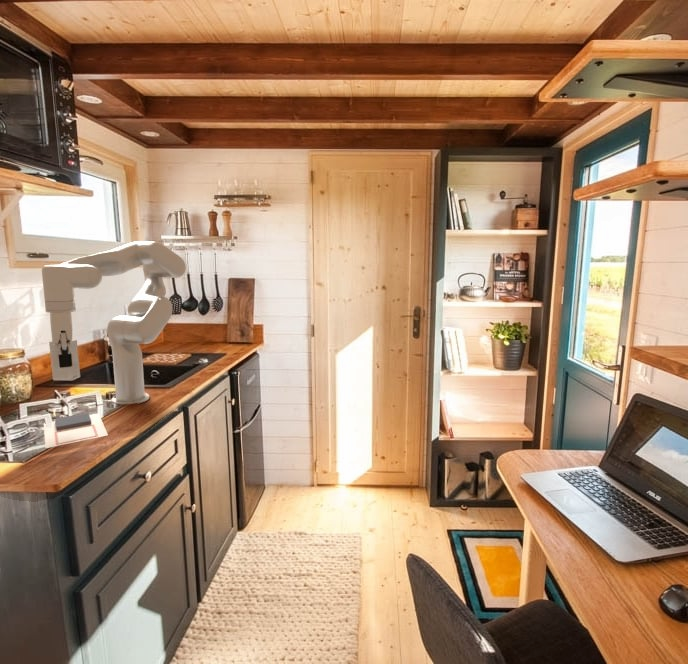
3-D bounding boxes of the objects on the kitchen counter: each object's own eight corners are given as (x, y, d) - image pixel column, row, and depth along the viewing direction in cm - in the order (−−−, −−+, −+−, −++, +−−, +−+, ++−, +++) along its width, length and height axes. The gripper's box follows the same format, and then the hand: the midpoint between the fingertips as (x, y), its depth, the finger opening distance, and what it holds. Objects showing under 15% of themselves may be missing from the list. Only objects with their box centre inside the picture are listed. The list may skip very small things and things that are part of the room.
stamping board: (43, 425, 129) (43, 422, 129) (98, 415, 138) (98, 413, 138) (45, 450, 113) (45, 447, 113) (108, 437, 122) (108, 434, 122)
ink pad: (55, 422, 130) (54, 418, 130) (88, 416, 136) (88, 412, 135) (56, 430, 124) (56, 426, 124) (91, 424, 129) (91, 420, 129)
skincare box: (80, 377, 130) (77, 339, 128) (72, 380, 126) (68, 342, 124) (61, 376, 130) (58, 339, 128) (52, 380, 126) (48, 341, 124)
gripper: (45, 304, 129) (50, 360, 132) (44, 310, 115) (50, 372, 118) (74, 303, 133) (78, 357, 136) (76, 309, 119) (81, 369, 122)
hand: (65, 363), depth 127 cm, fingers closed on skincare box, 6 cm apart
